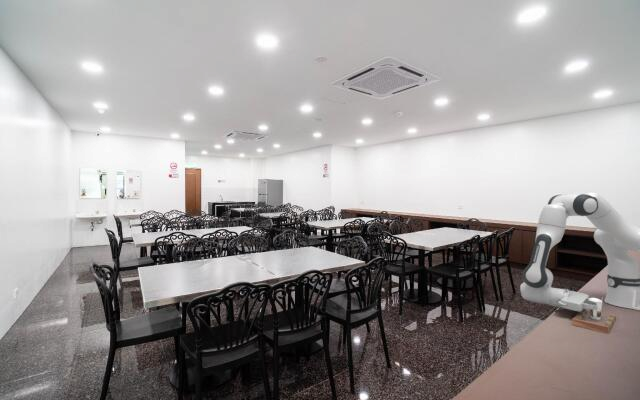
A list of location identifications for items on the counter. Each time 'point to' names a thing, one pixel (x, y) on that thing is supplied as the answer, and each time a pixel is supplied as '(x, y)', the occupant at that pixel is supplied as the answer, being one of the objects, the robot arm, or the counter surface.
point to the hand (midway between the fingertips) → (599, 305)
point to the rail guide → (593, 326)
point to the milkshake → (597, 313)
